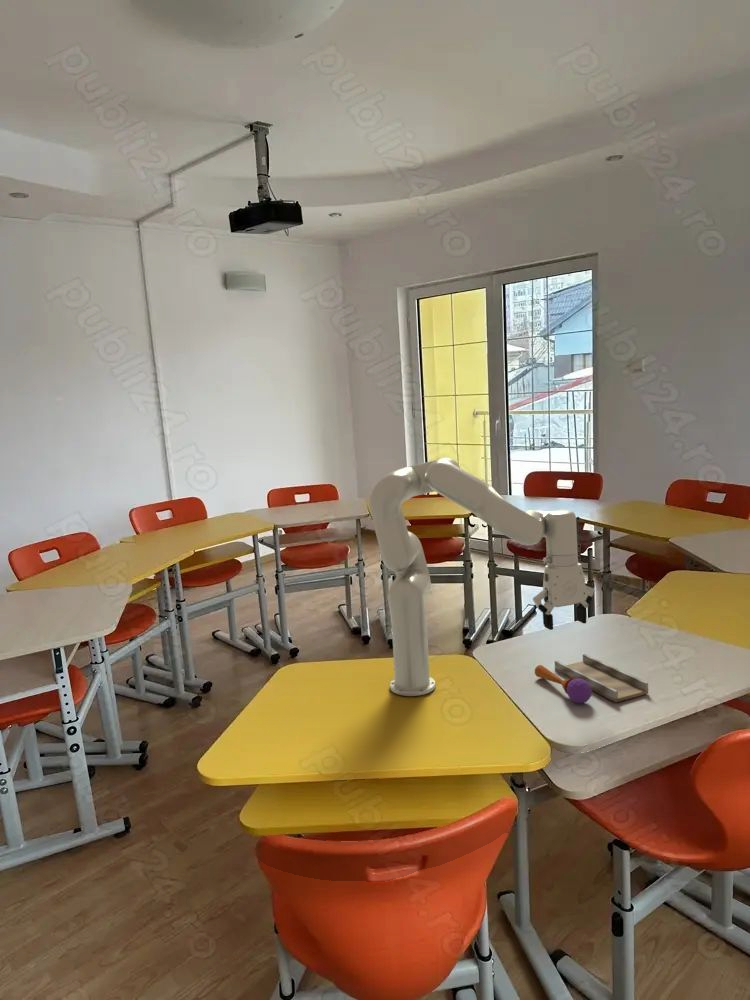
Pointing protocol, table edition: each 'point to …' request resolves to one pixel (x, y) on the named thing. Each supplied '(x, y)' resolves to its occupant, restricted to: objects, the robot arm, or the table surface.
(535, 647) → the table surface
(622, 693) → the rail cradle
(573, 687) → the kendama
